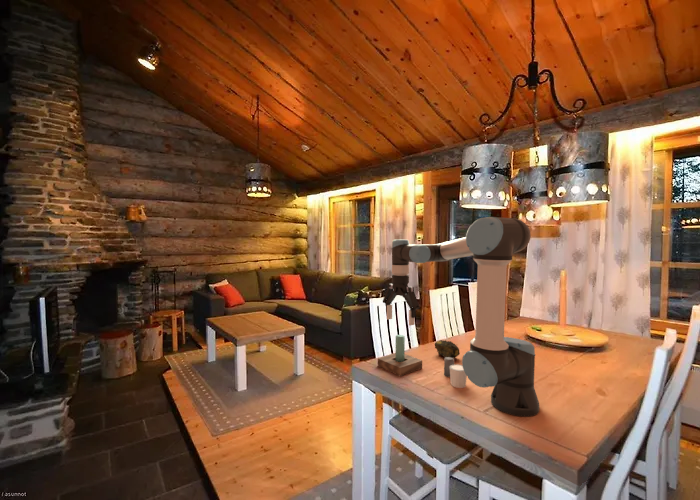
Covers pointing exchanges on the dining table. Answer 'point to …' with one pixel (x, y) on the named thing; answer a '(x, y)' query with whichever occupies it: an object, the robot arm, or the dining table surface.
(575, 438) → the dining table surface
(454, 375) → the shot glass
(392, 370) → the hole block
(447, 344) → the rock
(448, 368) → the short dowel
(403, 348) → the long dowel
